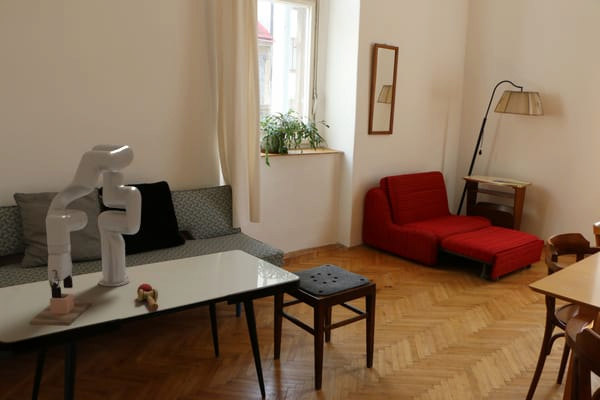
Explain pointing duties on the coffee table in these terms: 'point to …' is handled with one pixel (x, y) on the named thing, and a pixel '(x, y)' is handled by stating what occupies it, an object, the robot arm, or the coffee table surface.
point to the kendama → (148, 295)
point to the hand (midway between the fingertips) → (62, 292)
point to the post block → (66, 319)
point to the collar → (62, 304)
